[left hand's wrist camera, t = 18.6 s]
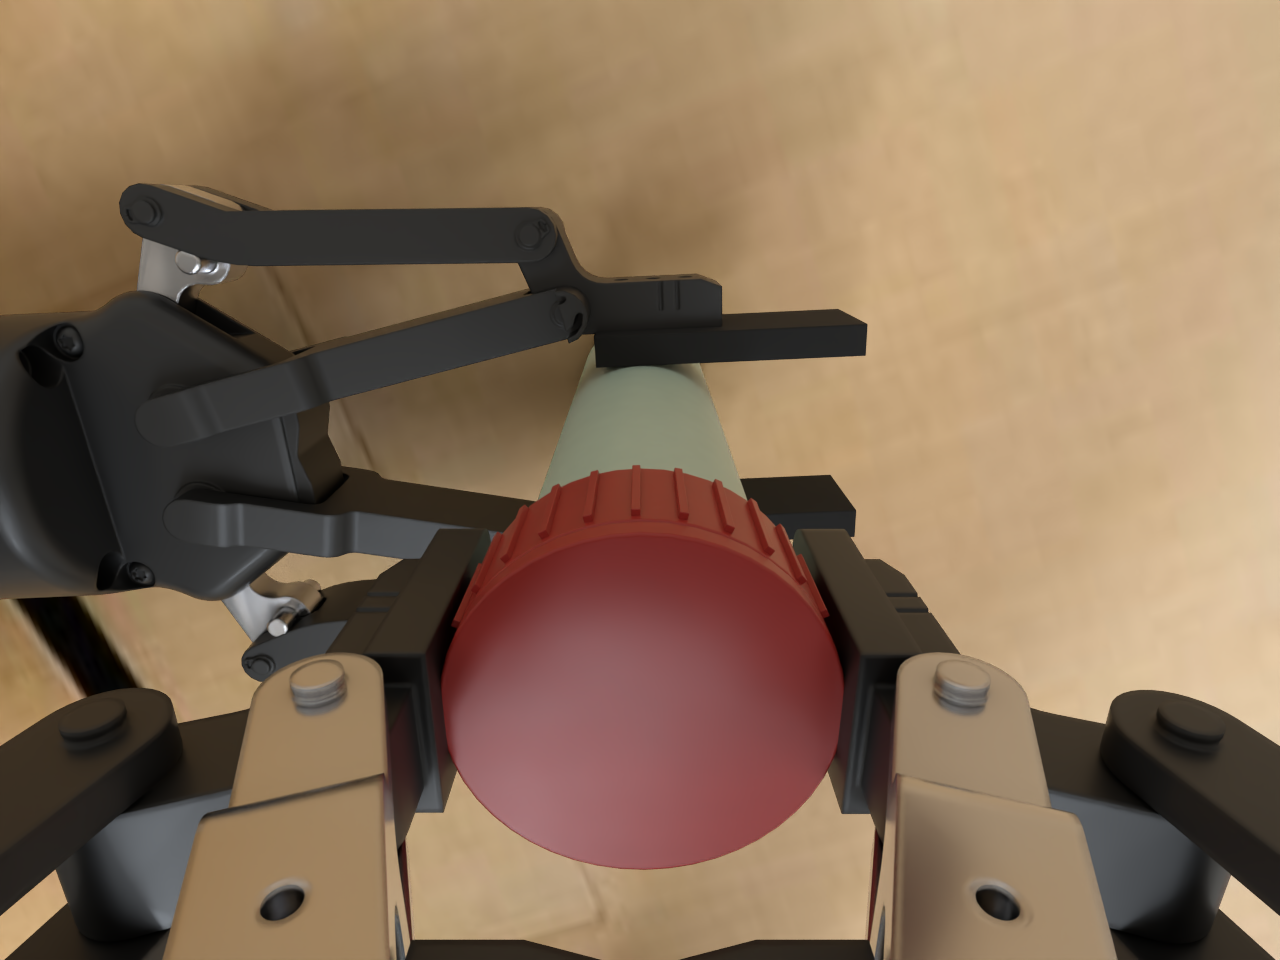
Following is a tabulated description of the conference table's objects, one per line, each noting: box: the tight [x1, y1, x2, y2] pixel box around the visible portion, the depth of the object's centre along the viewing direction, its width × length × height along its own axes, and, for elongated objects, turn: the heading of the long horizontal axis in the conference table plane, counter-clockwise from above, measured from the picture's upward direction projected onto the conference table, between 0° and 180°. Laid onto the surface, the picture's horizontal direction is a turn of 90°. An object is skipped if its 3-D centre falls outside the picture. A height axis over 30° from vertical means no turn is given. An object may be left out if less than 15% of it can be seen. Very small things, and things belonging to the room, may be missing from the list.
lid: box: [441, 465, 844, 870], centre depth 10 cm, size 5×5×2 cm
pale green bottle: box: [538, 345, 747, 500], centre depth 18 cm, size 4×4×17 cm
